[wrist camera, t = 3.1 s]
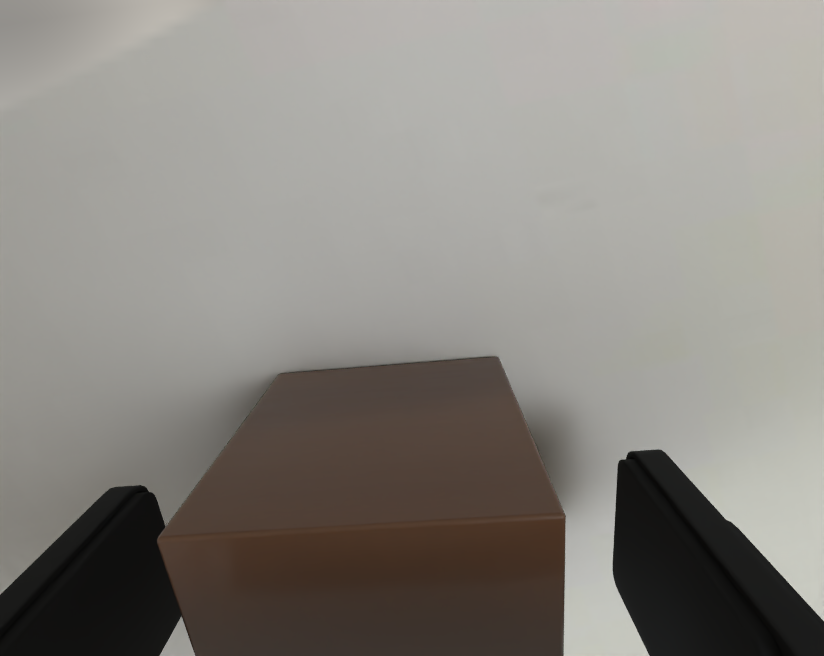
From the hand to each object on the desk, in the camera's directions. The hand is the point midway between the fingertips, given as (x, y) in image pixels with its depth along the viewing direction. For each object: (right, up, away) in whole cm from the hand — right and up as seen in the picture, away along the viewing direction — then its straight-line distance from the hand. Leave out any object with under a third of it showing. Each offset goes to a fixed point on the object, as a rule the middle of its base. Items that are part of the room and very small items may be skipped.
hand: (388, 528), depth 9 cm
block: (0, +1, +2) cm, 2 cm away
